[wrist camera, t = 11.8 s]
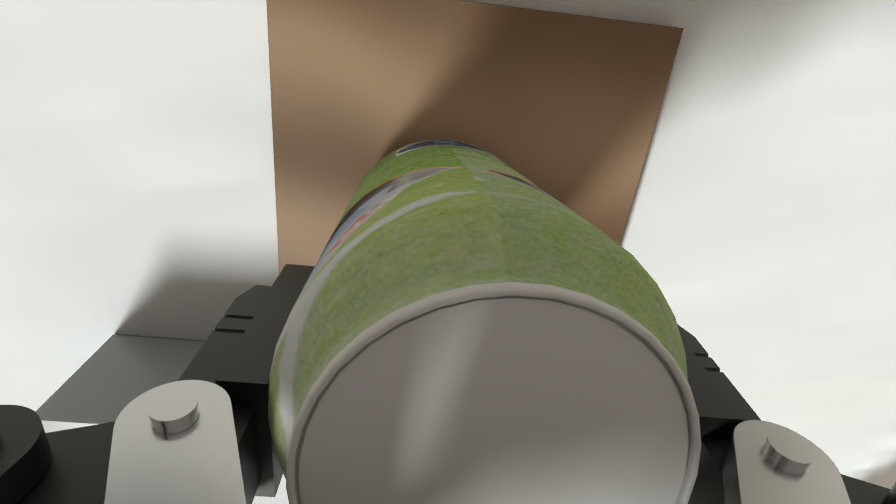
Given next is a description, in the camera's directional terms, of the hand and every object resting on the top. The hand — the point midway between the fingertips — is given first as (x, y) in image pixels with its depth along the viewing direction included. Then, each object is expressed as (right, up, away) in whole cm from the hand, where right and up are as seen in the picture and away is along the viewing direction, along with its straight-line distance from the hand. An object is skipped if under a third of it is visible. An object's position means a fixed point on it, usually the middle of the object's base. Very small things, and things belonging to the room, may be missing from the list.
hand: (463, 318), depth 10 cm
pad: (0, +3, +7) cm, 7 cm away
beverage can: (0, +3, +6) cm, 7 cm away
